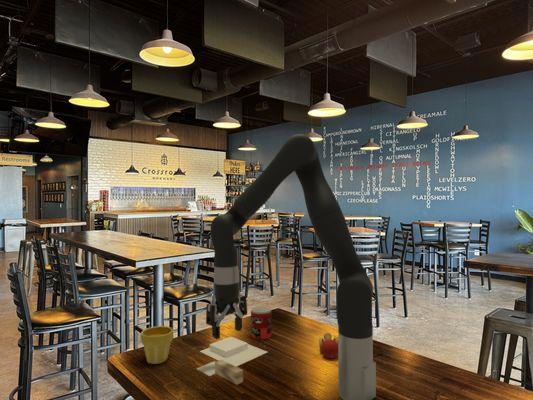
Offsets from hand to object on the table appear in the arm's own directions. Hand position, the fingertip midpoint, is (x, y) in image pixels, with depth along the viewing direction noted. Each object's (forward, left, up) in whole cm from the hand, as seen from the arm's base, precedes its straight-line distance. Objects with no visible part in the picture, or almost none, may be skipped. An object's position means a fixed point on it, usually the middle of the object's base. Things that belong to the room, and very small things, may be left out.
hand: (227, 334), depth 110 cm
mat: (+12, -13, -13) cm, 22 cm away
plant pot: (+27, +8, -14) cm, 31 cm away
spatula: (+3, 0, -13) cm, 14 cm away
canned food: (+15, -30, -14) cm, 36 cm away
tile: (+10, -13, -12) cm, 20 cm away
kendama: (-10, -38, -14) cm, 42 cm away
